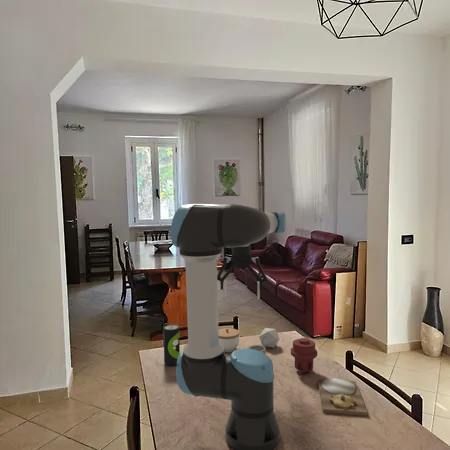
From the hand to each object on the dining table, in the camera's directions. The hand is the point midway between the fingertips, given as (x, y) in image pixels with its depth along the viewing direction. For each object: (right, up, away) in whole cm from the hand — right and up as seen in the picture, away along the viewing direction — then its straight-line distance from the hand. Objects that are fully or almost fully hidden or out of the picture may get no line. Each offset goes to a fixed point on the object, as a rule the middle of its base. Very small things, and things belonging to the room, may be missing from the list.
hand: (241, 298), depth 154 cm
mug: (+5, -27, +1) cm, 27 cm away
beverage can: (-28, -27, +1) cm, 39 cm away
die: (+13, -25, +18) cm, 34 cm away
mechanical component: (+23, -27, -7) cm, 36 cm away
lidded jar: (-6, -26, +15) cm, 30 cm away
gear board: (+32, -28, -26) cm, 50 cm away
